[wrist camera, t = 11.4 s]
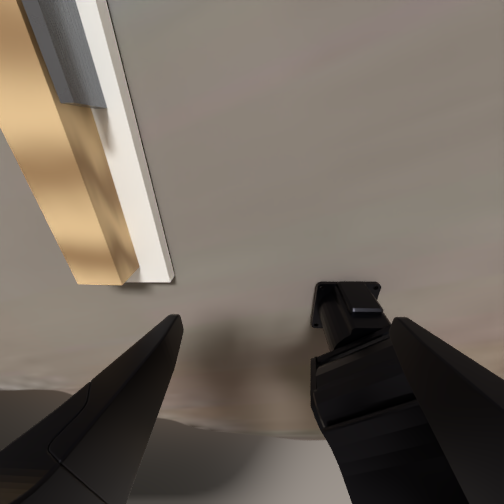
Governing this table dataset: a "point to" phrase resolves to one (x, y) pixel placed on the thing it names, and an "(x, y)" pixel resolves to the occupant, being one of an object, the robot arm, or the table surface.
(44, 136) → the oak rail
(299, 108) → the table surface
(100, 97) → the bracket plate
